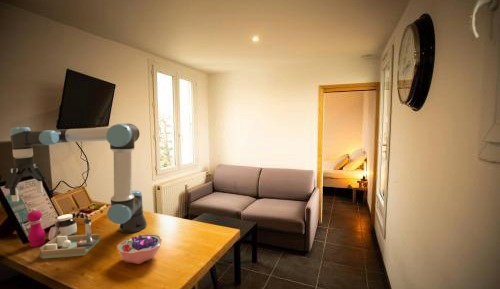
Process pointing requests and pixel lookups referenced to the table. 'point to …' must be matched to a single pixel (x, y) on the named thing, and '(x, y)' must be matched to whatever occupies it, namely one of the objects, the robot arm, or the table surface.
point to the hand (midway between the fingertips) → (28, 196)
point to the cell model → (139, 248)
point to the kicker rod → (87, 235)
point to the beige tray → (52, 252)
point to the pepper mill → (35, 229)
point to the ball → (66, 243)
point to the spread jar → (63, 226)
